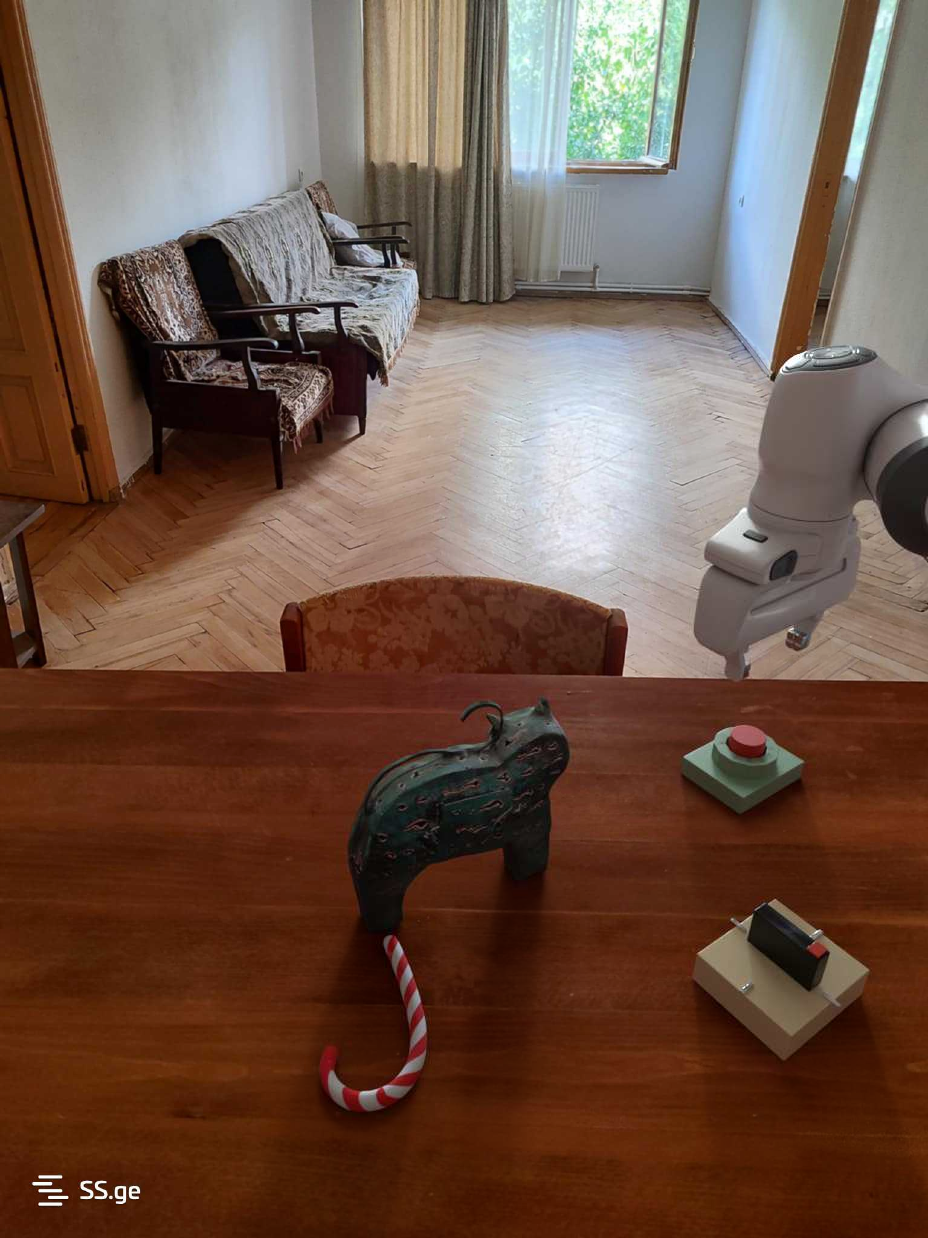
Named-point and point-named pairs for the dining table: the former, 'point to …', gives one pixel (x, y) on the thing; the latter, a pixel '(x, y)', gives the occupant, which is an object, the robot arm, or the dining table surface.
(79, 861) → the dining table surface
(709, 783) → the button box
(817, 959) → the black battery pack
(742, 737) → the red button
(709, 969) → the battery holder base
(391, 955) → the candy cane
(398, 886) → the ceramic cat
